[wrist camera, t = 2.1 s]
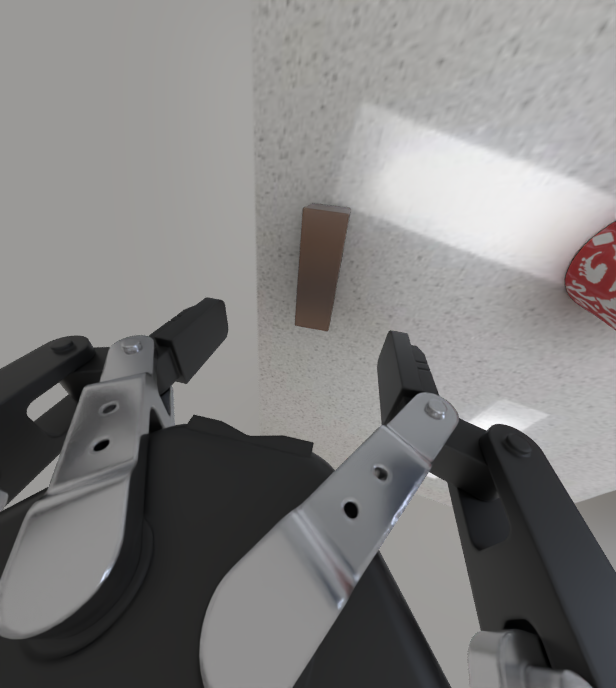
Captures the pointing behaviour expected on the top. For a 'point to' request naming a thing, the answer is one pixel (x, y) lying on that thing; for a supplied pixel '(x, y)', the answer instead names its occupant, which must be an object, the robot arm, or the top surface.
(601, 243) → the mug
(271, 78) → the top surface
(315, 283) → the bar
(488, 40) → the top surface
